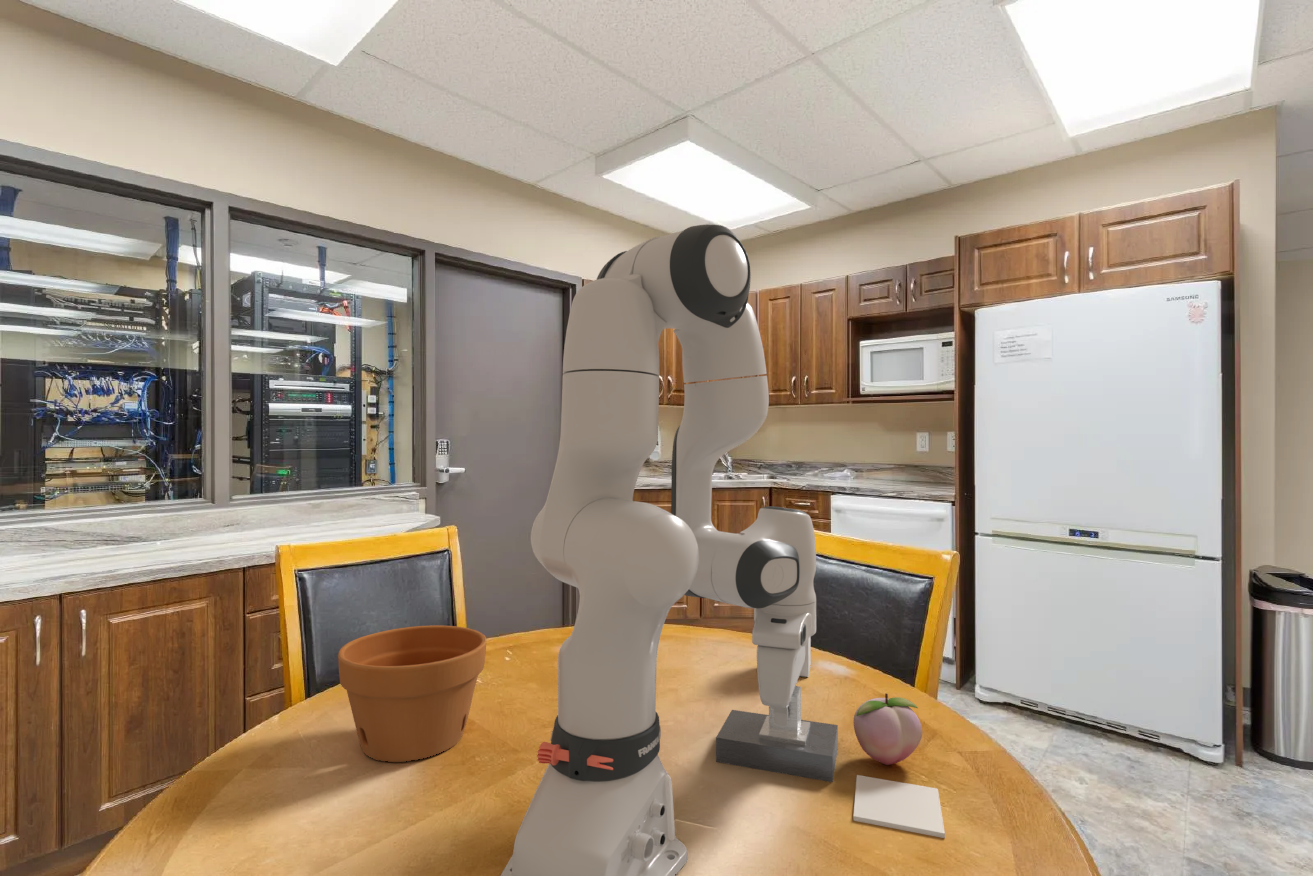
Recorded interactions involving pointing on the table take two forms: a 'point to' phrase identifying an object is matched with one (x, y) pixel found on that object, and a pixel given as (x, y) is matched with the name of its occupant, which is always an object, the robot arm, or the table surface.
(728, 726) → the post block
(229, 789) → the table surface
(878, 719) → the decorative fruit
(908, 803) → the pad
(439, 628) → the flower pot
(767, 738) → the peg
